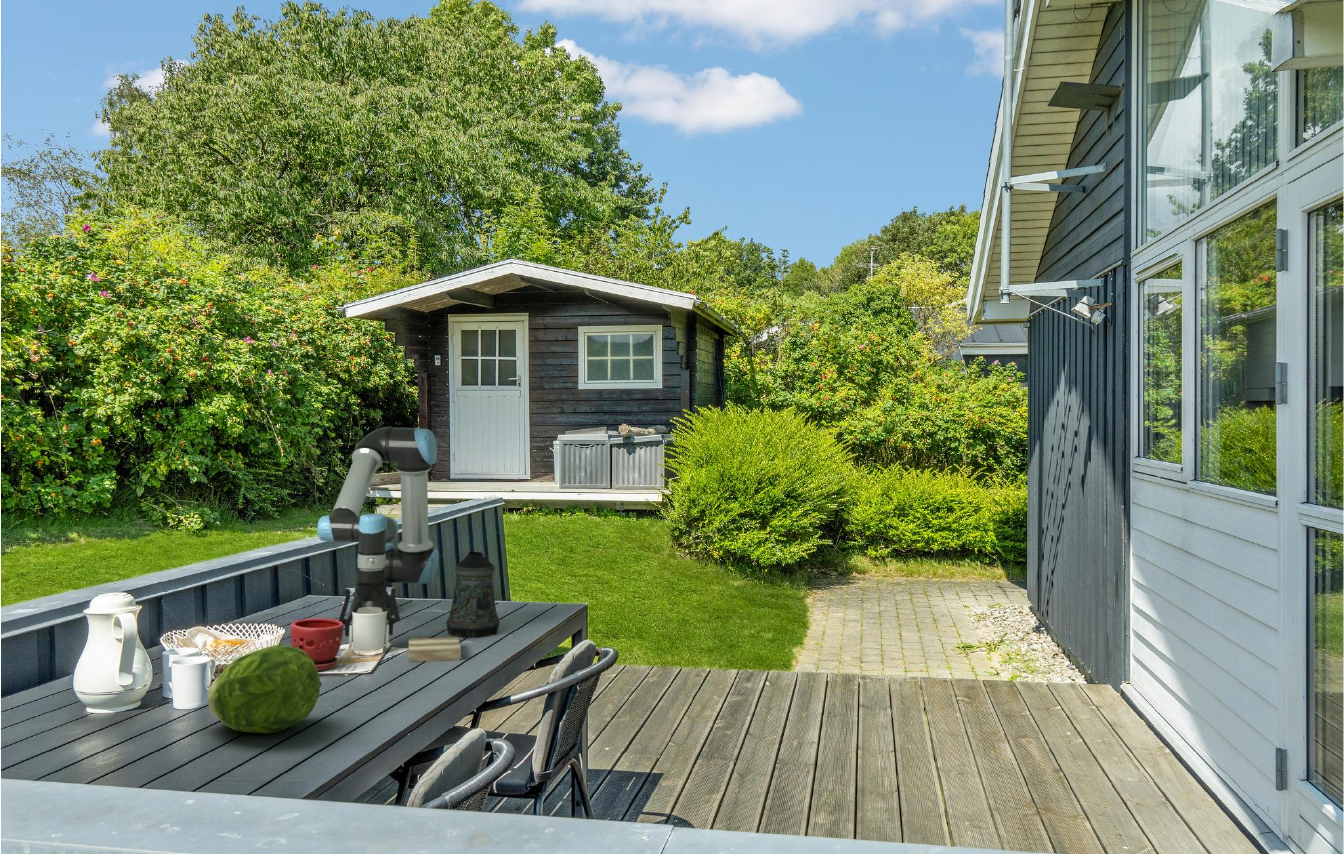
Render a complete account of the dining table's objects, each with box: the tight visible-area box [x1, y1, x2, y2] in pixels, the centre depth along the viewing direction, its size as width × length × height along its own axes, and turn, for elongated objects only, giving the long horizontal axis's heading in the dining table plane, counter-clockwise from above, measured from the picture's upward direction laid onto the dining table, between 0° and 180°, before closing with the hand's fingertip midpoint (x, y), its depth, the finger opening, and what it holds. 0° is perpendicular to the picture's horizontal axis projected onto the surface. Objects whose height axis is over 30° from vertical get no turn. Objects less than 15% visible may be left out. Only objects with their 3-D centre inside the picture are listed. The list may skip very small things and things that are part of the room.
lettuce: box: [207, 644, 321, 735], centre depth 196 cm, size 19×23×18 cm
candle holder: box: [351, 607, 388, 651], centre depth 260 cm, size 10×10×12 cm
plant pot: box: [290, 618, 344, 672], centre depth 244 cm, size 13×13×12 cm
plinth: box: [407, 636, 462, 663], centre depth 261 cm, size 14×14×3 cm
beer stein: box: [446, 551, 501, 639], centre depth 290 cm, size 16×19×25 cm
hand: (368, 646), depth 260 cm, fingers closed on candle holder, 9 cm apart
